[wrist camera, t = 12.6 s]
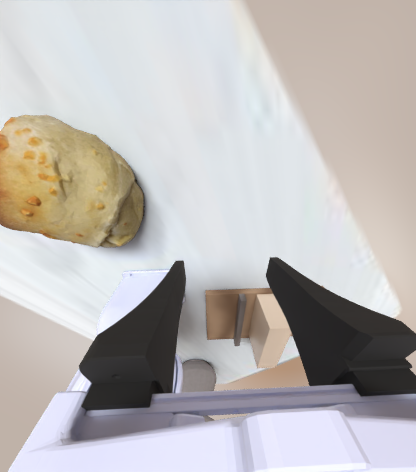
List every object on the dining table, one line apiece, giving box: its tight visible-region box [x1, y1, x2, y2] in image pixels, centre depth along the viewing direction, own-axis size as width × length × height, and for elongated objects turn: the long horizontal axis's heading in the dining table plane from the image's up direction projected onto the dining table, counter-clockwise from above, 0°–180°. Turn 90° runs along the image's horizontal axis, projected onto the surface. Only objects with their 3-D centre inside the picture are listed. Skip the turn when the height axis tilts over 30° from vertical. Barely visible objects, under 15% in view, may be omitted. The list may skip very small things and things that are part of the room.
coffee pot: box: [181, 360, 216, 422], centre depth 34 cm, size 21×12×15 cm, turn 132°
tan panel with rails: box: [206, 286, 324, 346], centre depth 30 cm, size 22×15×2 cm
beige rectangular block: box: [249, 294, 291, 368], centre depth 27 cm, size 4×13×6 cm, turn 1°
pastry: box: [0, 115, 144, 248], centre depth 15 cm, size 14×12×8 cm
